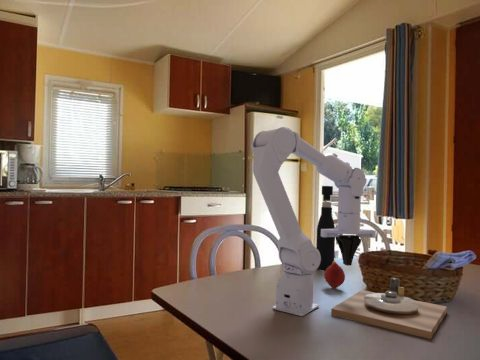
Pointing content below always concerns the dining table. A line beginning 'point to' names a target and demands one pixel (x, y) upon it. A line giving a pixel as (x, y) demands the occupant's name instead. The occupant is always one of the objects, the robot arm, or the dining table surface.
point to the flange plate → (391, 300)
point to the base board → (393, 315)
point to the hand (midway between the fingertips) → (347, 264)
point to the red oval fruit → (334, 275)
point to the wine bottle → (326, 222)
